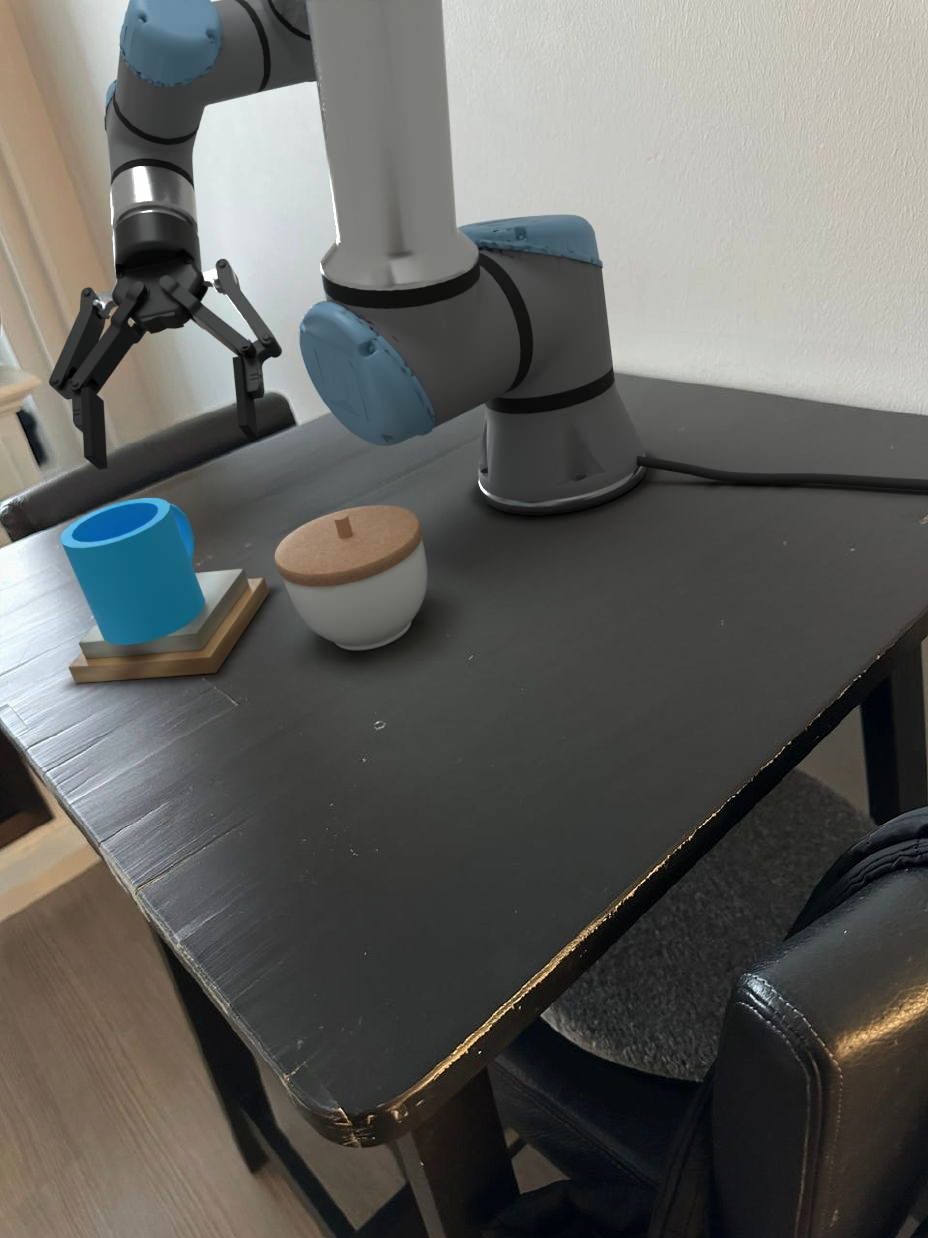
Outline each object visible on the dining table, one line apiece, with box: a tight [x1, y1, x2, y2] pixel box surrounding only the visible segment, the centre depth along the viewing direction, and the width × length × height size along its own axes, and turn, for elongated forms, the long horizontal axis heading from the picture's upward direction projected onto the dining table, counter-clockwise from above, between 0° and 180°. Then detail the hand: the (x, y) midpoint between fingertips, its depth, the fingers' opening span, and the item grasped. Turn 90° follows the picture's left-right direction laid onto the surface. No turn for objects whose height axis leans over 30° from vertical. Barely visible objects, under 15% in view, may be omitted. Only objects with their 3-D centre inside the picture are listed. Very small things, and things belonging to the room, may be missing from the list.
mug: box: [59, 497, 205, 645], centre depth 79 cm, size 12×8×8 cm
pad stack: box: [68, 568, 270, 684], centre depth 82 cm, size 12×12×3 cm
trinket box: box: [273, 504, 428, 651], centre depth 75 cm, size 11×11×9 cm
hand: (171, 448), depth 87 cm, fingers open, 13 cm apart
